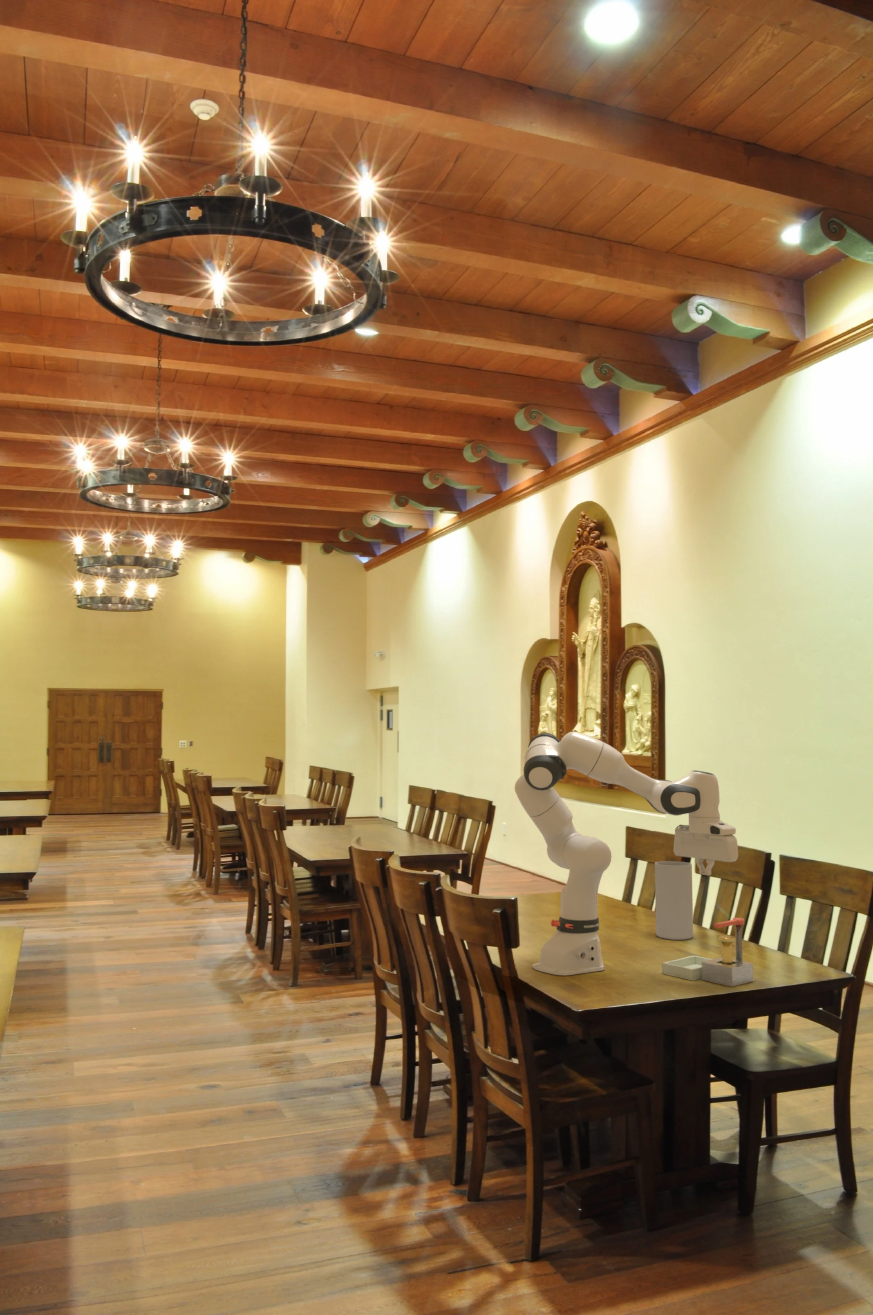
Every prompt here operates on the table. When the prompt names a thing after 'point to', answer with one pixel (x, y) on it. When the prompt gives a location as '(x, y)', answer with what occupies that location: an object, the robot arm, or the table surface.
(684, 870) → the cylinder vase
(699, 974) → the tray
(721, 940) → the pin
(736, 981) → the socket block
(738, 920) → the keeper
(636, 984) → the table surface
